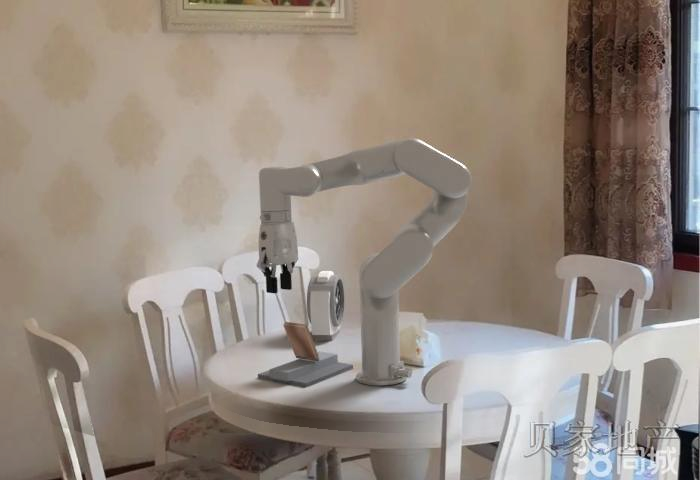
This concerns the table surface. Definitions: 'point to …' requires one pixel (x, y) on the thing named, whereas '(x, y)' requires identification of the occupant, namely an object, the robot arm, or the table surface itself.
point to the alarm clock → (325, 305)
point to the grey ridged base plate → (307, 370)
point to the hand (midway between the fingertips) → (279, 290)
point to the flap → (301, 341)
